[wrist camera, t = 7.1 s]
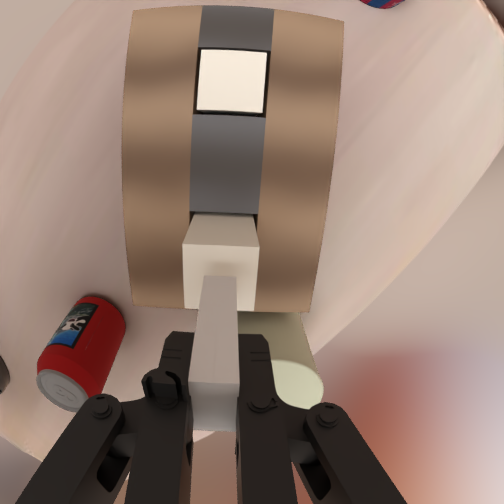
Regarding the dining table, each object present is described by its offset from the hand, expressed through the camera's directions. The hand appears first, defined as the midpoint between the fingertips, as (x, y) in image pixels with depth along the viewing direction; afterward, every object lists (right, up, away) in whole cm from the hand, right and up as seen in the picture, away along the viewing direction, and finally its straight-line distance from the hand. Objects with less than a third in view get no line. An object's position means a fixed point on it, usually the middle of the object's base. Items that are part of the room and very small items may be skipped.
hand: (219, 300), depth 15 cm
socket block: (0, +11, +11) cm, 15 cm away
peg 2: (-1, +4, +8) cm, 9 cm away
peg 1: (0, +16, +8) cm, 18 cm away
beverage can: (-16, -5, +17) cm, 24 cm away
